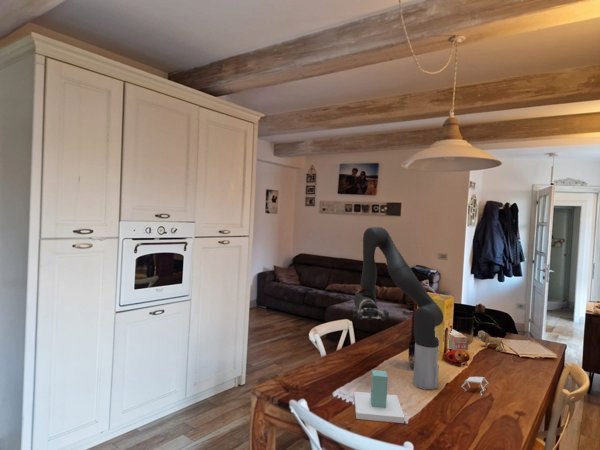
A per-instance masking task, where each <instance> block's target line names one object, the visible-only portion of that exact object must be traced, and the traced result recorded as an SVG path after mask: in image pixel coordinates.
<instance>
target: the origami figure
mask: <svg viewBox="0 0 600 450" xmlns="http://www.w3.org/2000/svg"><path fill="white" fill-rule="evenodd" d="M483 381H484V382H485V384H484V385H483V384H482V383H483ZM470 383H476V384H480V386H481V390H480V391H479V394H480V396H483V392H484V391H486V390H487V389H486V388H485V387H486V386H487V385H489V382H488V381H487V379H486V377H485V376H484V377H483V376H469V377H468V378H467V379H465V381H464V383H463V384H462V385H461V388H463V389H464V392H466V391H467V389H466V388H465V387H464V386H465V385H466V384H467V385H468V389H470V388H471V385H470Z"/></svg>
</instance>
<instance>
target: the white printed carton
mask: <svg viewBox="0 0 600 450" xmlns="http://www.w3.org/2000/svg"><path fill="white" fill-rule="evenodd" d="M467 340H468V337H467V336H466V335H465V334H463V333H461V332H459V331H457V330H456V329H453V328H452V331H451V333H450V334H449V349H452V350H464V351H466V352H467Z"/></svg>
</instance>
